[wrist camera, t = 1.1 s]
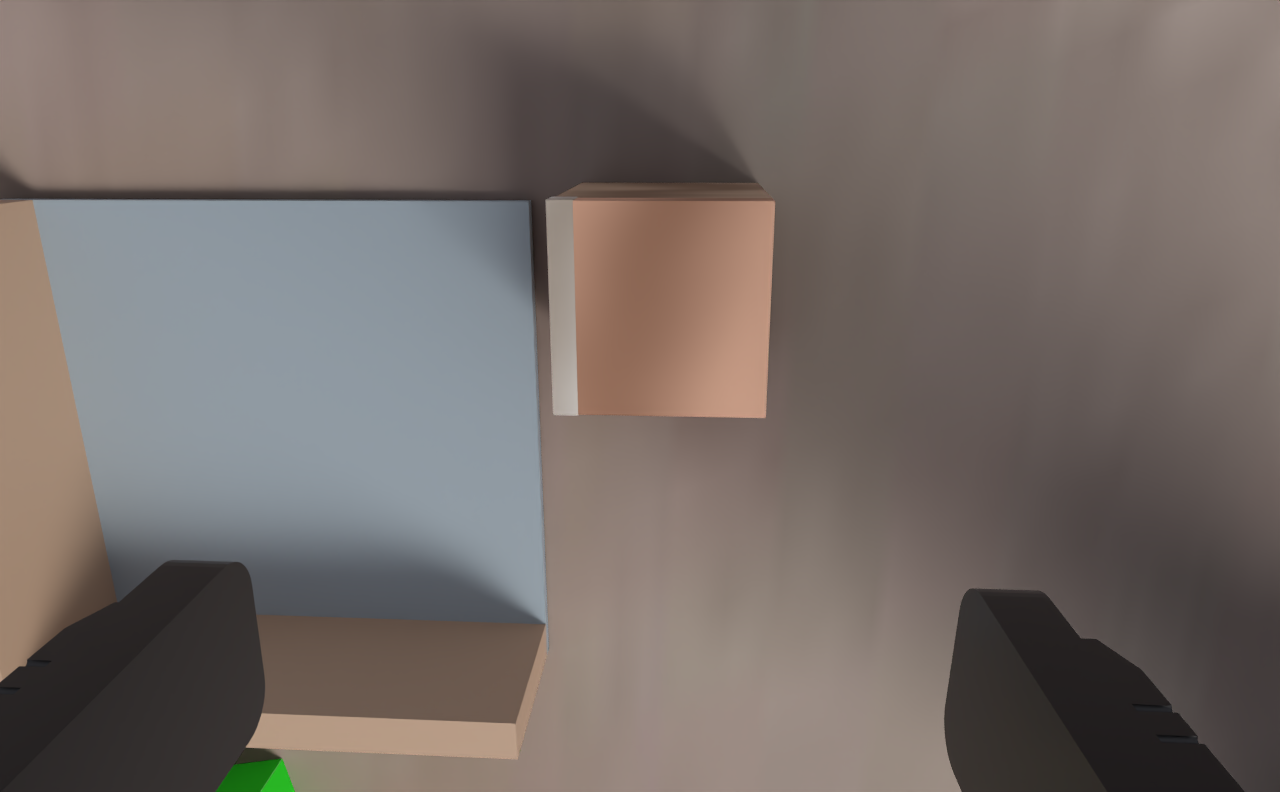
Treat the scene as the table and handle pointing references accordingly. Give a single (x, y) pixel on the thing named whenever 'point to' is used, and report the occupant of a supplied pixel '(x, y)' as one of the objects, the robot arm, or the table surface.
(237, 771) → the puzzle toy
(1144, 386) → the table surface
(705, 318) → the block
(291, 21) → the table surface
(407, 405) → the arena
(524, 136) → the table surface
